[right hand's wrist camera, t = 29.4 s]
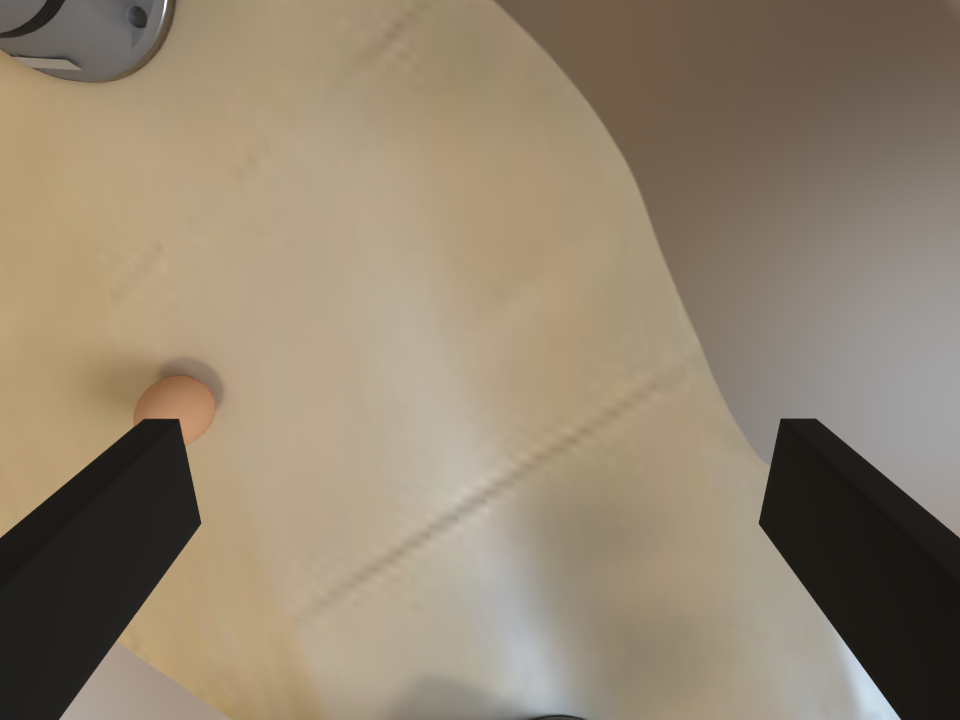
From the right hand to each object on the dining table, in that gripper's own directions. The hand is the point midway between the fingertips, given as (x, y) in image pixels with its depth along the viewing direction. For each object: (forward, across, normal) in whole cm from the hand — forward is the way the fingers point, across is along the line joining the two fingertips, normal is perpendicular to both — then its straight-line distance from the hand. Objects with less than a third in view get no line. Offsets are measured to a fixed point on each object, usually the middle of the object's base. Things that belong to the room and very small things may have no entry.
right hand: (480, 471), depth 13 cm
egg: (+38, -27, -16) cm, 49 cm away
